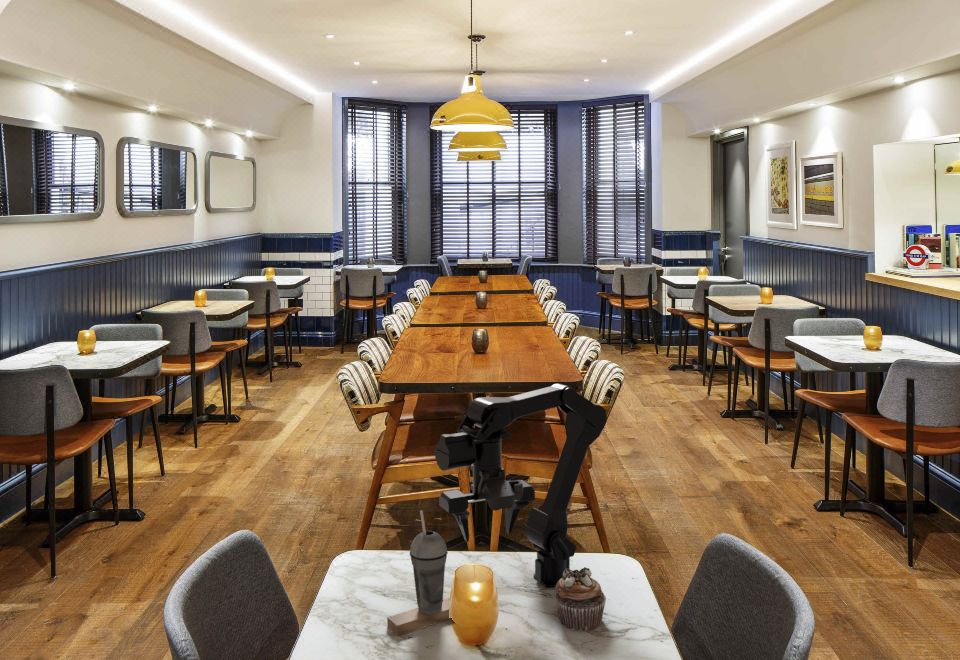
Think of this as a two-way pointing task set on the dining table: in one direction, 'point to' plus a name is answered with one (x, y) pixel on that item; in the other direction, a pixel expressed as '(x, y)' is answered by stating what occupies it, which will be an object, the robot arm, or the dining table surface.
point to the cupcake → (579, 600)
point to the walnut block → (416, 619)
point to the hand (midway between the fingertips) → (487, 537)
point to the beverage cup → (428, 569)
